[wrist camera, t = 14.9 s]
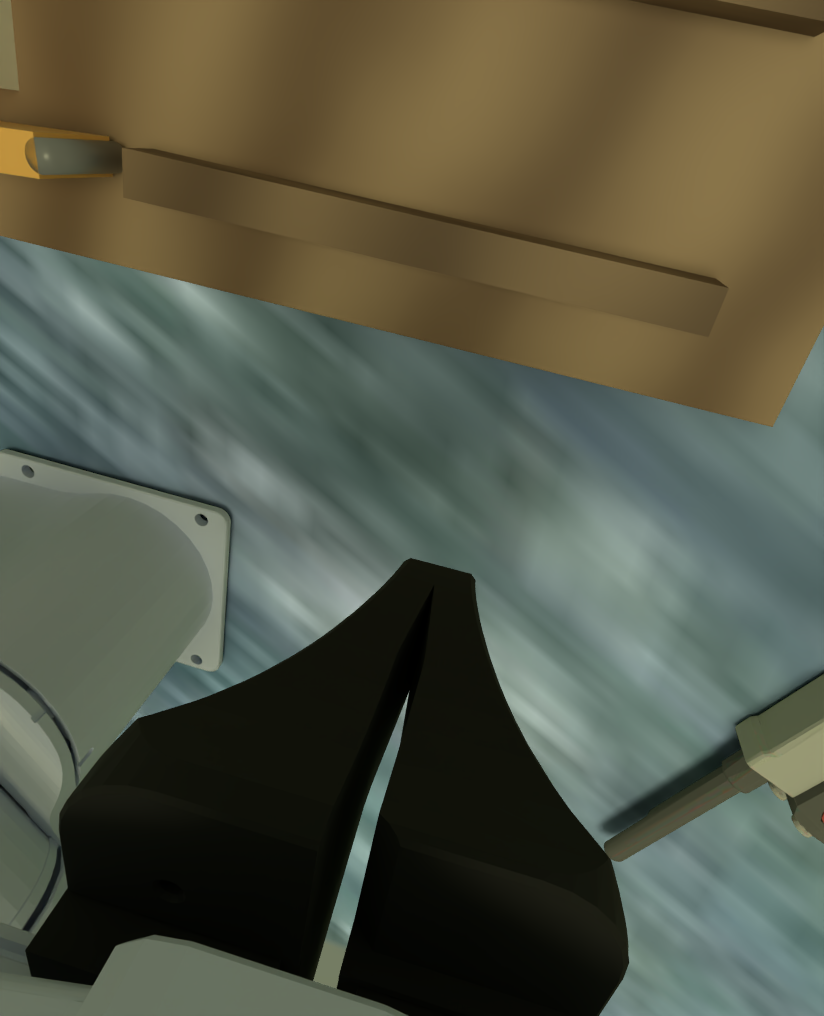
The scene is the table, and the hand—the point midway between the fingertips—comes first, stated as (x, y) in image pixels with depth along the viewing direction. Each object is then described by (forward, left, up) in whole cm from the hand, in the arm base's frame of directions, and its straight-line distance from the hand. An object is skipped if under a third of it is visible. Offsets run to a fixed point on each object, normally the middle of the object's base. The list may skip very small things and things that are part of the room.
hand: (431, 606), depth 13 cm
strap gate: (-15, +5, -8) cm, 18 cm away
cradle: (-7, +9, -9) cm, 15 cm away
